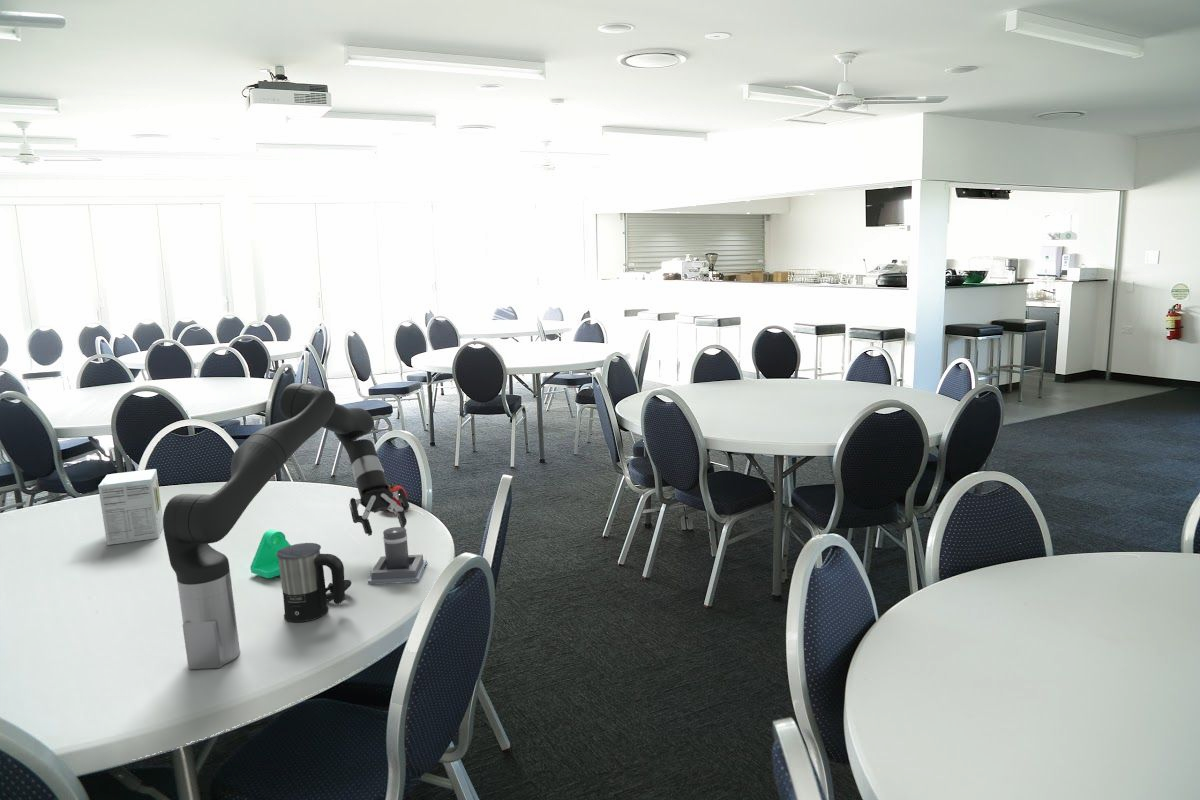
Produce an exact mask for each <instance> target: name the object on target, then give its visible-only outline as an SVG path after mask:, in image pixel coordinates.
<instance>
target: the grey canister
mask: <svg viewBox="0 0 1200 800" xmlns="http://www.w3.org/2000/svg"><path fill="white" fill-rule="evenodd" d="M382 534H383V538H382V539H383V543H384V554H385V556H386V567H387V570H392V569H410V568H409V556H408V555H409V547H408V534H407V529H406V527H404V528H403V527H401V526H395V527H390V528H386V529H384V531H383V533H382Z"/></svg>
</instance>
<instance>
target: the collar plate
mask: <svg viewBox="0 0 1200 800" xmlns="http://www.w3.org/2000/svg"><path fill="white" fill-rule="evenodd" d="M408 556H409V568H410V569H392V570H387V567H386V556H384V555H383V556H382V555H381V556H380V557H379V559H378V560H377V562H376V563H375V565H374V566H373V568H372V570H371V572H370V576H369V578H368V580H367V585H377V584H376V583H383V584H397V582H398V583H399V582H402V583H417V581H420V580H419V579H421V577H422V575H423V573H424V571H423V570H425V568H426V566H427V564H426V563H428V560H427V559H424V554H408ZM425 565H426V566H425ZM424 567H425V568H424ZM422 572H423V573H422ZM421 574H422V575H421ZM413 581H414V582H413ZM415 581H416V582H415ZM399 584H400V583H399Z"/></svg>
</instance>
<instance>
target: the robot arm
mask: <svg viewBox="0 0 1200 800" xmlns="http://www.w3.org/2000/svg"><path fill="white" fill-rule="evenodd" d="M336 402H337V401H336V397H335V394H334V393H333V392H332V391H331V390H329V389H327V388H324V387H321V386H317V385H314V384H313V385H312V384H308V383H302V382H293V383H291V384H289V385H287V386H286V387H285V388H284V389H283V391H281V395H280V398H279V403H278V404H279V406H278V407H279V412H280V414H281V416H282V417H283V418H284V419H286V420H284V421H280V422H277V423H274V424H271V425H268V426H267V425H266V426H265V427H262V428H261V429H258V430H256V431H254V432H253V433H252V434H251V435H249V437H247V438H246V439H245V441H243V442H242V443H241V444H240V445H239V446H238V447H237V449H235V451H234V453H233V455H232V457H231V463H230V478H229V479H228V480H227V482H226V483H225V484H224V485H223V486H222V487H220V488H219V490H217V491H215V492H214V493H212V494H211V493H210V494H200V493H182V494H181V493H180V494H177V495H174V496H173V497H172V498H170V499H169V501H168V502H167V503H166V505H165V507H164V511H163V528H162V530H163V534H164V535H163V536H164V539H165V545H166V549H167V554H168V560H169V563H170V566H171V568H172V570H173V571H174V573H175V576H176V581H177V588H178V589H177V590H178V597H179V604H180V610H181V617H182V632H183V639H184V644H185V653H186V654H185V655H186V661H187V667H188V670H205V669H220V668H222V667H223V666H224V665H226V664H228V663H230V662H232V661H234V660H235V659H237V658H238V656H239V655H240V653H241V648H240V641H239V632H238V625H237V618H236V617H237V616H236V608H235V601H234V595H233V594H234V593H233V587H232V586H233V585H232V578H231V568H230V563H229V558H228V557H227V556H226V554H224V553H222V552H221V551H218V550H216V549H215V548H213V547H212V546H211V545H210V544H214V543H217V542H220V541H222V540H223V539H224V538H225V537H226V536H227V535H228V534H229V532H230V531H231V530H232V529H233V528H234V526H235V525H236V523H237V522H238V521H239V519H240V518H241V516H242V515H243V513H244V512H245V511H246V509H247V507H249V505H250V504H251V502H253V499H255V497H256V496H258V494H259V492H261V490H262V489H263V488H264V487H265V486H266V485H267V484H268V482H269V481H270V480H271V479H272V478H273V477H274V476H275V475H276V474H277V473H278V472H279V471H280V470H281V468H283V466H284V465H285V464H286V463H287V462H288V461H289V459H290V458H291V457H292V456H293V455H294V453H295V452H297V451H298V449H299V448H300V447H301V446H302V445H303V444H305V442H306V441H308V440H309V439H310V438H311V437H313V436H314V435H315V434H316V433H317V432H318V431H319V430H321V429H322V428H323V429H326V430H328V431H331V432H333V433H334V435H335V437H336V439H338V440H339V442H340V443H341V445H342V446H343V448H344V449H345V451H346V454H347V455H348V459H349V460H350V465H351V468H352V474H353V477H354V481H355V484H356V486H357V491H358V494H359V497H360V498H357V499H355V498H354V497H351V498H350V501H349V509H350V514H351V518H352V522H353V523H354V524H357V523H359V524H360V523H361V525H362V528H363V531H364V534H366V535H368V536H369V537H370V536H372V535H373V529H372V526H371V523H370V520H369V519H368V518H369V517H370V514H371V513H374V514H376V513H378V512H384V511H385V512H386V511H389V512H391V513H394V515H396V516H397V519H398V523H399V525H400V526H399V527H403V528H406V525H407V522H408V521H407V517H406V515H405V513H407V512H409V510H410V509H409V508H410V503H409V501H408V498H407V499H406V496H405V494H404V491H403V489H399V490H398V491H396V492H391V491H390V489H389V486H390V485H389V484H388V481H387V477H386V474H385V470H384V468H383V465H382V463H381V461H380V459H379V456H378V454H377V450H376V447H375V445H374V443H373V441H372V440H370V439H369V438H368V439H365V438H362V437H363V436H366V435H368V434H369V433H371V432H372V431H373V429H374V426H375V422H374V419H373V417H372V415H371V414H370V413H369V411H367V410H366V409H364V408H361V407H345V406H343V405H341V404H339V403H336ZM359 438H362V439H359ZM388 485H389V486H388ZM393 497H395V498H396V499H397V500H399V502H400V504H401V506H402V507H401V506H399V505H398V504H397V503H396V502H395V501H394V500H392V498H393ZM360 505H361V506H363V507H364V508H365V509H364V512H363V514H362V515H360V514H359V509H358V508H359V506H360ZM386 509H388V510H386Z"/></svg>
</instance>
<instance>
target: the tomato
mask: <svg viewBox="0 0 1200 800" xmlns="http://www.w3.org/2000/svg"><path fill="white" fill-rule="evenodd" d="M388 486H389V489H390V491H391V492H396V491H398V490H399V489H403V491H404V494H405V496H406V499H407V500H408V494H407V491H406V489H405V488H403V486H401V485H397V484H396V483H394V484H393V483H390V485H389V484H388ZM392 500H394V501H395V502H396V503H397V504H398V505H399V506H401V504H400V502H399V500H397V499H396V498H395V497H393V498H392ZM401 507H402V506H401ZM386 511H389V510H388V509H386Z"/></svg>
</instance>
